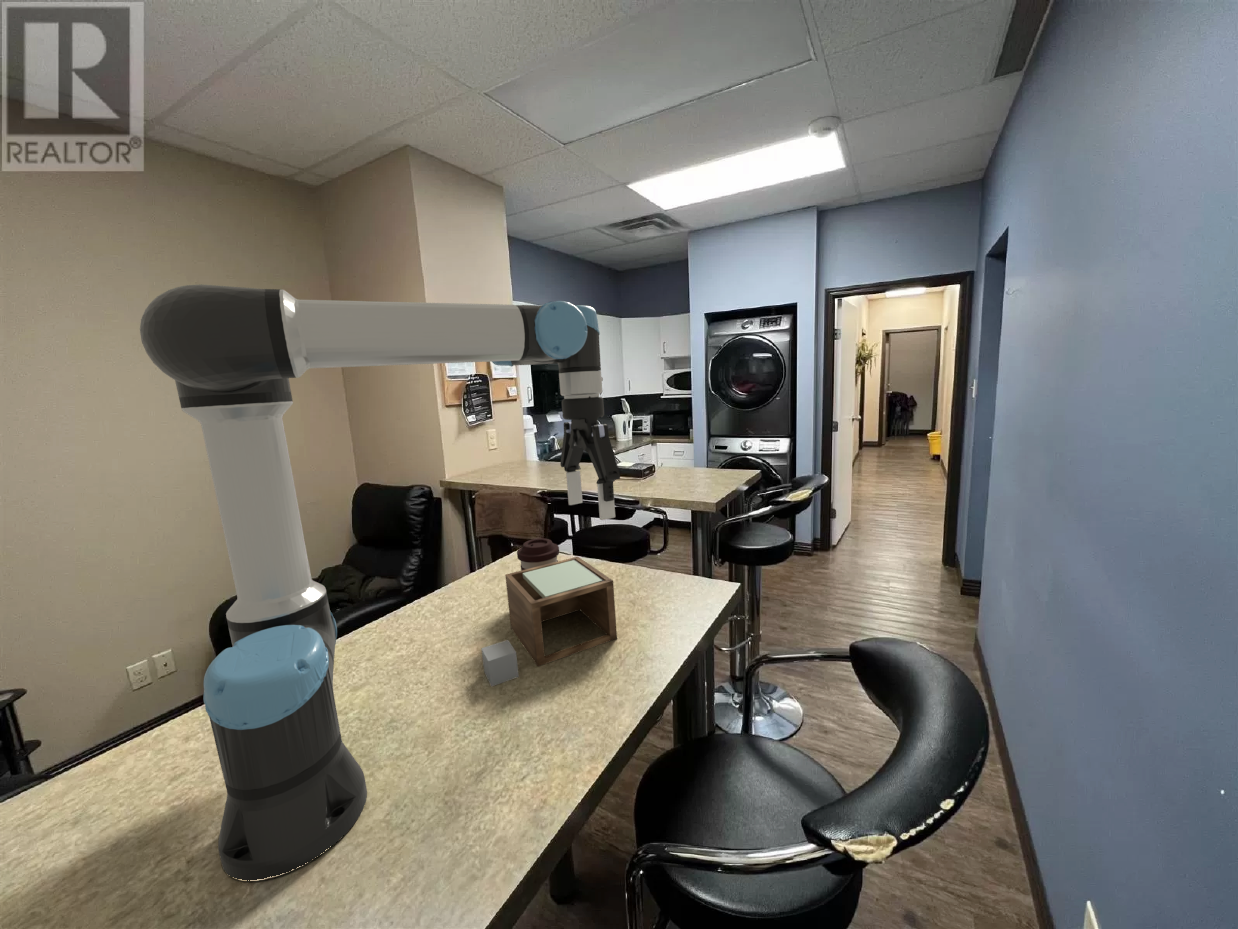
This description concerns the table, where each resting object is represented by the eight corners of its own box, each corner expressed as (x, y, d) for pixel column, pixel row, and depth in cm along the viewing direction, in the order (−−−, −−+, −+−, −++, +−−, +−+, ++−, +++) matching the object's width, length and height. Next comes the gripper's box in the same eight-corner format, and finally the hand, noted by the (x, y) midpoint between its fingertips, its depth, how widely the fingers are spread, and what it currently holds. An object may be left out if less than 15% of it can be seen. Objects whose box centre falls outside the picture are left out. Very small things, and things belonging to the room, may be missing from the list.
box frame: (537, 666, 90) (531, 604, 87) (511, 628, 104) (505, 574, 102) (617, 638, 98) (613, 580, 95) (581, 607, 112) (577, 556, 110)
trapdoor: (546, 601, 90) (546, 596, 90) (522, 577, 103) (522, 572, 103) (605, 584, 96) (604, 580, 96) (575, 563, 109) (575, 559, 108)
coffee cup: (571, 597, 118) (566, 538, 115) (544, 614, 110) (539, 552, 107) (541, 589, 123) (535, 534, 121) (513, 606, 115) (507, 546, 113)
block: (491, 687, 84) (488, 661, 84) (484, 673, 89) (481, 648, 88) (518, 677, 87) (516, 651, 86) (510, 664, 91) (507, 639, 90)
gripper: (635, 394, 77) (642, 521, 81) (573, 395, 99) (580, 495, 102) (594, 397, 74) (603, 530, 77) (538, 398, 95) (547, 501, 99)
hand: (590, 510), depth 90 cm, fingers open, 13 cm apart
